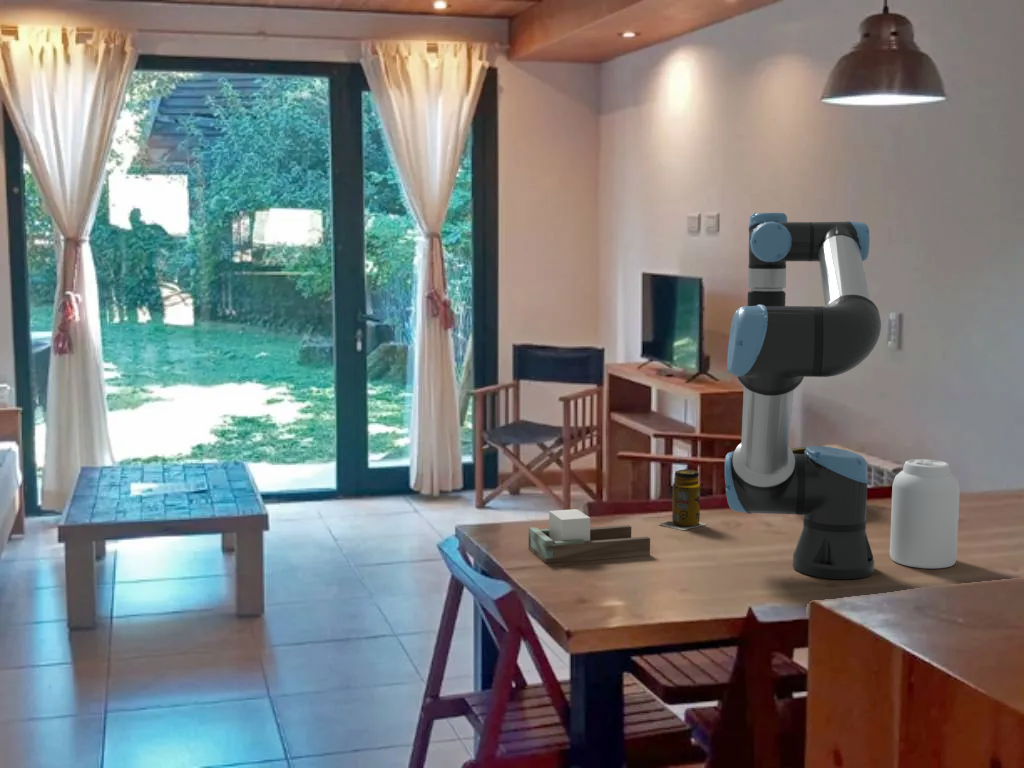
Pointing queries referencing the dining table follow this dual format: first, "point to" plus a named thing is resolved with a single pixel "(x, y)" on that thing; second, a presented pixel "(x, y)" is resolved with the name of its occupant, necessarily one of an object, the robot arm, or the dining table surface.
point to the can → (924, 515)
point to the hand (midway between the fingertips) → (763, 405)
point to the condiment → (685, 501)
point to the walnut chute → (588, 545)
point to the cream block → (569, 525)
